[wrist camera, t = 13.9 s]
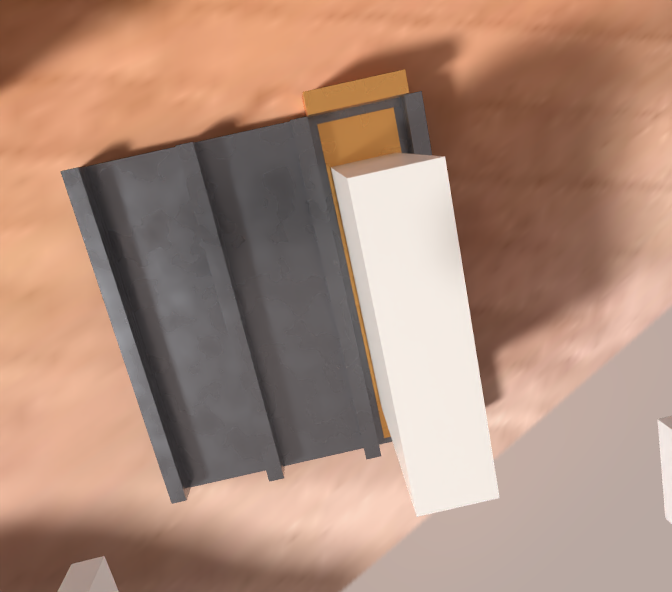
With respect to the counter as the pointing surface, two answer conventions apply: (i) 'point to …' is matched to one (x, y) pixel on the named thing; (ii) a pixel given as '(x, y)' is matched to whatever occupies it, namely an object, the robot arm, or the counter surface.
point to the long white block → (418, 325)
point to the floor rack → (246, 285)
